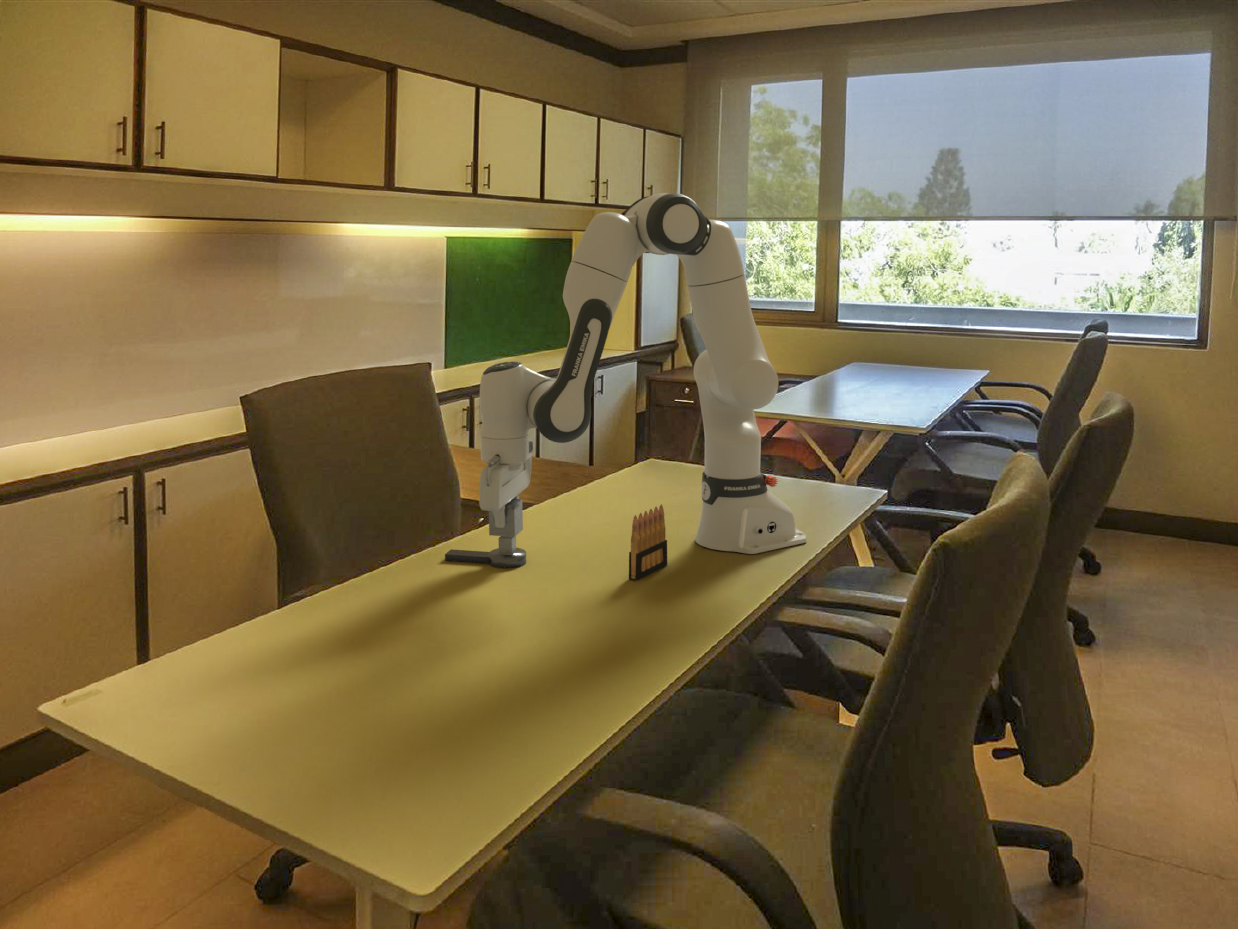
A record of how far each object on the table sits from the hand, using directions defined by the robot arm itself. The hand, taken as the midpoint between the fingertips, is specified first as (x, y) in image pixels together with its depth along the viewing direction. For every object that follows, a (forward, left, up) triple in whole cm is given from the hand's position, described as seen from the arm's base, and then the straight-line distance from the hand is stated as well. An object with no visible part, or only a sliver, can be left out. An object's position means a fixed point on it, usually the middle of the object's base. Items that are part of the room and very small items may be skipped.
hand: (506, 521), depth 202 cm
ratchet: (+3, -2, -8) cm, 9 cm away
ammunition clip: (-23, +15, -8) cm, 29 cm away
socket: (0, 0, -2) cm, 2 cm away
